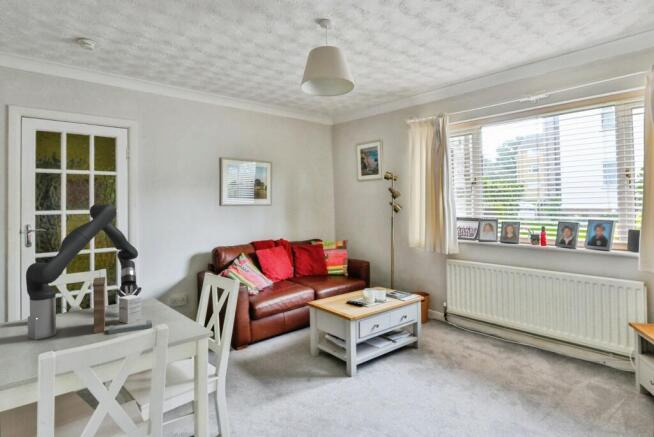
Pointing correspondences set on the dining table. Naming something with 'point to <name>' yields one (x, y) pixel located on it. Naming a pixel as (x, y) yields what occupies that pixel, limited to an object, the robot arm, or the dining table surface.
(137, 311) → the supplement box
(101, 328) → the walnut partition
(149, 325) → the slate bay
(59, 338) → the dining table surface
